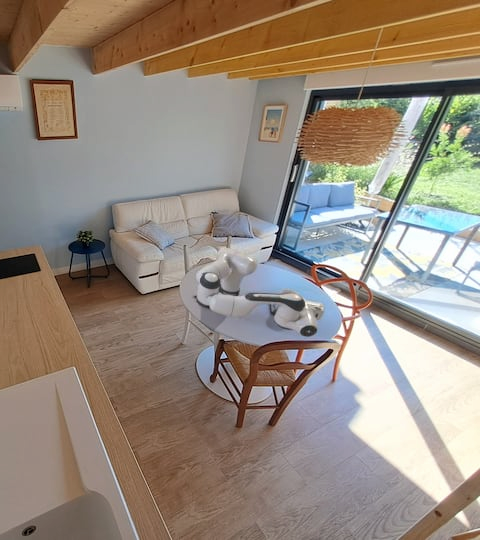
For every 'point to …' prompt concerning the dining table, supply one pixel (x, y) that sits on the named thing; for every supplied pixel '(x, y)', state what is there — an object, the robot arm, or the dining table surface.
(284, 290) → the mug
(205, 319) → the dining table surface
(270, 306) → the bay rails
